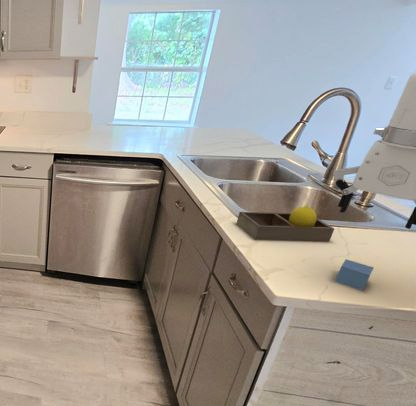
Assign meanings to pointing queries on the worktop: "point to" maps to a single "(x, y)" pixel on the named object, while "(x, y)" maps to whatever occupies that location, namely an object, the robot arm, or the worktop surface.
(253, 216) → the tray
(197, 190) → the worktop surface
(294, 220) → the lemon
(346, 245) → the worktop surface
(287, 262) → the worktop surface
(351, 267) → the blue block
